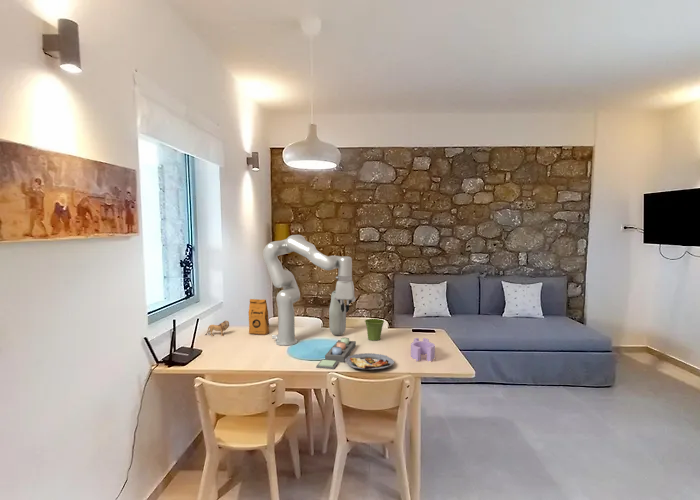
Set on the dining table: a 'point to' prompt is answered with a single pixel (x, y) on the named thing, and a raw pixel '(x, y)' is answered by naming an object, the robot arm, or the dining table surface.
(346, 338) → the sage button
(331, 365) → the card
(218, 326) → the lion figurine
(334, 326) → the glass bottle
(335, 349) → the slate button
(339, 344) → the peach rounded dome
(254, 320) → the coffee package
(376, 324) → the plant pot
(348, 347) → the button panel
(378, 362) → the food plate
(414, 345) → the clip
